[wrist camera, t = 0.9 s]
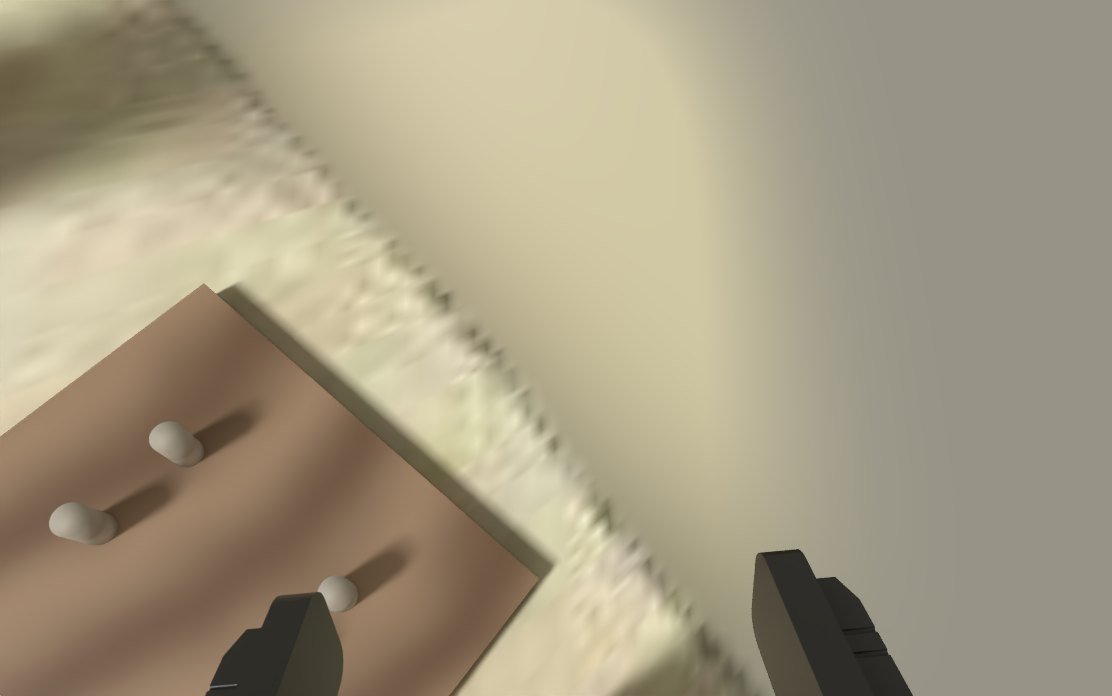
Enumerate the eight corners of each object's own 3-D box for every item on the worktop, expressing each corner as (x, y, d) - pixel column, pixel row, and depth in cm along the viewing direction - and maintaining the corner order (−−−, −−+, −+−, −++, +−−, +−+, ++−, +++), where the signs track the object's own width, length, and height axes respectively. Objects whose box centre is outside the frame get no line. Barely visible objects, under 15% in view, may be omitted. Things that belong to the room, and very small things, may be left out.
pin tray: (-119, 548, 25) (-204, 536, 21) (211, 295, 31) (185, 255, 28) (258, 939, 22) (228, 993, 19) (534, 580, 29) (548, 574, 25)
